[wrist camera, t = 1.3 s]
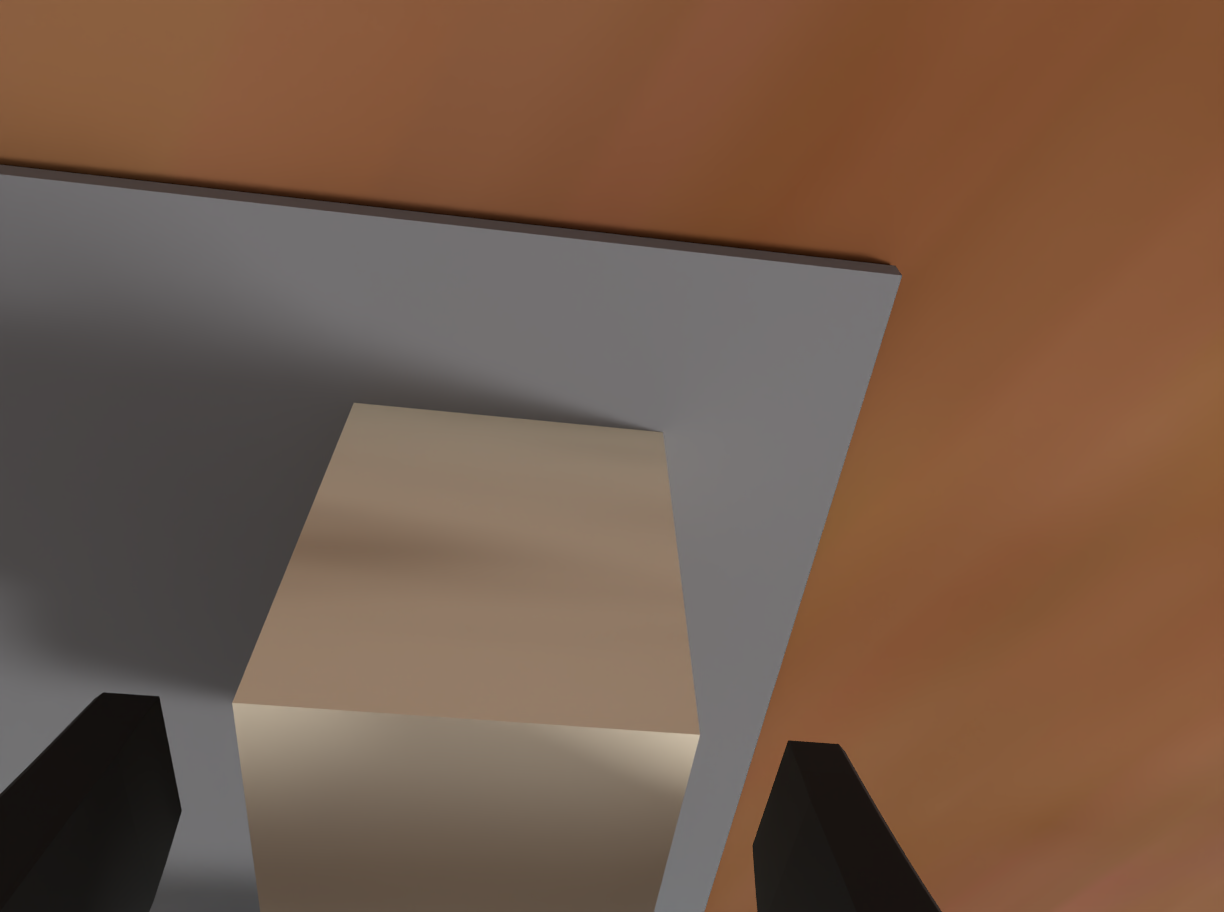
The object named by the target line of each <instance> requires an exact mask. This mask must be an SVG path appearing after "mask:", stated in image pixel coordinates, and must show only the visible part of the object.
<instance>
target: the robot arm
mask: <svg viewBox="0 0 1224 912" xmlns="http://www.w3.org/2000/svg"><path fill="white" fill-rule="evenodd" d="M181 812H182V809H181V804H180V799H179V793H178V788H177V783H176V778H175V773H174V768H173V763H172V758H171V753H170V748H169V743H168V738H167V733H166V727H165V722H164V717H163V712H162V707H161V702H160V697H159V696H149V695H135V694H121V693H106V692H103V693H102V694H100V695H99V696H97V697H96V698H95V699H94V700H93V701H92V702H91V703H90V704H89V705H88V706H87V707H86V708H85V709H84V710H83V711H82V712H81V713H80V714H79V715H78V716H77V717H76V718H75V719H74V720H73V721H72V722H71V723H70V724H69V725H68V726H67V727H66V728H65V729H64V730H63V731H62V732H61V733H60V734H59V735H58V736H57V737H56V738H55V739H54V740H53V741H52V742H51V744H50V745H49V746H48V747H47V748H46V749H45V750H44V751H43V752H42V753H41V754H40V755H39V756H38V757H37V758H36V759H35V760H34V761H33V762H32V763H31V764H30V765H29V766H28V767H27V768H26V769H25V770H24V771H23V772H22V773H21V774H20V775H19V776H18V777H17V778H16V779H15V780H14V781H13V782H12V783H11V784H10V785H9V786H8V787H7V788H6V789H5V790H4V791H3V792H2V793H1V794H0V912H149V911H150V909H151V906H152V904H153V902H154V898H155V895H156V892H157V889H158V886H159V883H160V880H161V877H162V874H163V871H164V868H165V865H166V862H167V858H168V855H169V852H170V849H171V845H172V842H173V839H174V835H175V832H176V829H177V825H178V822H179V819H180V816H181ZM753 859H754V873H755V887H756V899H757V910H758V912H942V911H941V910H940V908H939V907H938V905H937V904H936V902H935V901H934V899H933V898H932V896H931V895H930V893H929V892H928V890H927V888H926V887H925V885H924V884H923V882H922V881H921V879H920V878H919V876H918V874H917V873H916V871H915V870H914V868H913V866H912V865H911V863H910V862H909V860H908V858H907V857H906V855H905V853H904V852H903V850H902V849H901V847H900V845H899V844H898V842H897V840H896V839H895V837H894V835H893V834H892V832H891V830H890V829H889V827H888V825H887V824H886V822H885V820H884V819H883V817H882V815H881V814H880V812H879V810H878V808H877V807H876V805H875V803H874V802H873V800H872V798H871V796H870V795H869V793H868V791H867V790H866V788H865V786H864V784H863V783H862V781H861V779H860V777H859V776H858V774H857V772H856V770H855V769H854V767H853V765H852V763H851V762H850V760H849V758H848V756H847V754H846V753H845V751H844V750H843V749H842V748H841V746H840V745H839V744H829V743H815V742H801V741H788V743H787V746H786V749H785V752H784V755H783V758H782V761H781V764H780V767H779V769H778V772H777V775H776V778H775V781H774V784H773V787H772V790H771V793H770V796H769V799H768V802H767V805H766V808H765V811H764V814H763V817H762V819H761V822H760V825H759V828H758V831H757V834H756V837H755V840H754V843H753Z"/></svg>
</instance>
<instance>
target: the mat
mask: <svg viewBox="0 0 1224 912" xmlns="http://www.w3.org/2000/svg"><path fill="white" fill-rule="evenodd" d="M901 277H902V275H901V273H900V272H899V271H898V269H897V268H896V266H892V265H883V264H874V263H866V262H857V261H848V260H839V259H830V258H821V257H813V256H804V255H795V254H786V253H777V252H768V251H760V250H751V249H742V248H733V247H724V246H715V245H707V244H698V243H689V242H680V241H671V240H662V239H654V238H645V237H636V236H627V235H618V234H609V233H600V232H592V231H583V230H574V229H565V228H556V227H547V226H539V225H530V224H521V223H512V222H503V221H494V220H486V219H477V218H468V217H459V216H450V215H441V214H433V213H424V212H415V211H406V210H397V209H388V208H380V207H371V206H362V205H353V204H344V203H335V202H327V201H318V200H309V199H300V198H291V197H282V196H274V195H265V194H256V193H247V192H238V191H229V190H220V189H212V188H203V187H194V186H185V185H176V184H167V183H159V182H150V181H141V180H132V179H123V178H114V177H106V176H97V175H88V174H79V173H70V172H61V171H53V170H44V169H35V168H26V167H17V166H8V165H0V794H1V793H2V792H3V791H4V790H5V789H6V788H7V787H8V786H9V785H10V784H11V783H12V782H13V781H14V780H15V779H16V778H17V777H18V776H19V775H20V774H21V773H22V772H23V771H24V770H25V769H26V768H27V767H28V766H29V765H30V764H31V763H32V762H33V761H34V760H35V759H36V758H37V757H38V756H39V755H40V754H41V753H42V752H43V751H44V750H45V749H46V748H47V747H48V746H49V745H50V744H51V742H52V741H53V740H54V739H55V738H56V737H57V736H58V735H59V734H60V733H61V732H62V731H63V730H64V729H65V728H66V727H67V726H68V725H69V724H70V723H71V722H72V721H73V720H74V719H75V718H76V717H77V716H78V715H79V714H80V713H81V712H82V711H83V710H84V709H85V708H86V707H87V706H88V705H89V704H90V703H91V702H92V701H93V700H94V699H95V698H96V697H97V696H99V695H100V694H102V693H103V692H106V693H121V694H135V695H149V696H159V697H160V702H161V707H162V712H163V717H164V722H165V727H166V733H167V738H168V743H169V748H170V753H171V758H172V763H173V768H174V773H175V778H176V783H177V788H178V793H179V799H180V804H181V809H182V812H181V816H180V819H179V822H178V825H177V829H176V832H175V835H174V839H173V842H172V845H171V849H170V852H169V855H168V858H167V862H166V865H165V868H164V871H163V874H162V877H161V880H160V883H159V886H158V889H157V892H156V895H155V898H154V902H153V904H152V906H151V909H150V911H149V912H260V907H259V899H258V892H257V884H256V877H255V869H254V862H253V854H252V847H251V840H250V832H249V825H248V817H247V810H246V802H245V795H244V787H243V780H242V773H241V765H240V758H239V750H238V743H237V735H236V728H235V721H234V713H233V706H232V702H233V699H234V697H235V695H236V692H237V690H238V687H239V685H240V682H241V680H242V677H243V675H244V672H245V670H246V667H247V665H248V662H249V660H250V658H251V655H252V653H253V650H254V648H255V645H256V643H257V640H258V638H259V635H260V633H261V630H262V628H263V625H264V623H265V621H266V618H267V616H268V613H269V611H270V608H271V606H272V603H273V601H274V598H275V596H276V593H277V591H278V588H279V586H280V584H281V581H282V579H283V576H284V574H285V571H286V569H287V566H288V564H289V561H290V559H291V556H292V554H293V551H294V549H295V547H296V544H297V542H298V539H299V537H300V534H301V532H302V529H303V527H304V524H305V522H306V519H307V517H308V514H309V512H310V509H311V507H312V505H313V502H314V500H315V497H316V495H317V492H318V490H319V487H320V485H321V482H322V480H323V477H324V475H325V472H326V470H327V468H328V465H329V463H330V460H331V458H332V455H333V453H334V450H335V448H336V445H337V443H338V440H339V438H340V435H341V433H342V431H343V428H344V426H345V423H346V421H347V418H348V416H349V413H350V411H351V408H352V406H353V403H362V404H372V405H383V406H393V407H404V408H414V409H425V410H435V411H446V412H456V413H467V414H477V415H487V416H498V417H508V418H519V419H529V420H540V421H550V422H561V423H571V424H581V425H592V426H602V427H613V428H623V429H634V430H644V431H655V432H663V437H664V445H665V453H666V461H667V469H668V477H669V486H670V494H671V502H672V510H673V518H674V526H675V535H676V543H677V551H678V559H679V567H680V575H681V584H682V592H683V600H684V608H685V616H686V624H687V632H688V641H689V649H690V657H691V665H692V673H693V681H694V690H695V698H696V706H697V714H698V722H699V730H700V737H699V741H698V745H697V749H696V752H695V756H694V760H693V764H692V768H691V772H690V775H689V779H688V783H687V787H686V791H685V795H684V798H683V802H682V806H681V810H680V814H679V818H678V821H677V825H676V829H675V833H674V837H673V841H672V845H671V848H670V852H669V856H668V860H667V864H666V868H665V871H664V875H663V879H662V883H661V887H660V891H659V894H658V898H657V902H656V906H655V910H654V912H704V911H705V908H706V905H707V901H708V898H709V895H710V892H711V888H712V885H713V882H714V879H715V876H716V872H717V869H718V866H719V863H720V859H721V856H722V853H723V850H724V847H725V843H726V840H727V837H728V834H729V831H730V827H731V824H732V821H733V818H734V814H735V811H736V808H737V805H738V802H739V798H740V795H741V792H742V789H743V785H744V782H745V779H746V776H747V773H748V769H749V766H750V763H751V760H752V757H753V753H754V750H755V747H756V744H757V740H758V737H759V734H760V731H761V728H762V724H763V721H764V718H765V715H766V711H767V708H768V705H769V702H770V699H771V695H772V692H773V689H774V686H775V683H776V679H777V676H778V673H779V670H780V666H781V663H782V660H783V657H784V654H785V650H786V647H787V644H788V641H789V637H790V634H791V631H792V628H793V625H794V621H795V618H796V615H797V612H798V609H799V605H800V602H801V599H802V596H803V592H804V589H805V586H806V583H807V580H808V576H809V573H810V570H811V567H812V563H813V560H814V557H815V554H816V551H817V547H818V544H819V541H820V538H821V535H822V531H823V528H824V525H825V522H826V518H827V515H828V512H829V509H830V506H831V502H832V499H833V496H834V493H835V489H836V486H837V483H838V480H839V477H840V473H841V470H842V467H843V464H844V461H845V457H846V454H847V451H848V448H849V444H850V441H851V438H852V435H853V432H854V428H855V425H856V422H857V419H858V415H859V412H860V409H861V406H862V403H863V399H864V396H865V393H866V390H867V387H868V383H869V380H870V377H871V374H872V370H873V367H874V364H875V361H876V358H877V354H878V351H879V348H880V345H881V341H882V338H883V335H884V332H885V329H886V325H887V322H888V319H889V316H890V313H891V309H892V306H893V303H894V300H895V296H896V293H897V290H898V287H899V284H900V280H901Z"/></svg>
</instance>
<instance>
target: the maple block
mask: <svg viewBox="0 0 1224 912" xmlns="http://www.w3.org/2000/svg"><path fill="white" fill-rule="evenodd" d="M232 706H233V713H234V721H235V728H236V735H237V743H238V750H239V758H240V765H241V773H242V780H243V787H244V795H245V802H246V810H247V817H248V825H249V832H250V840H251V847H252V854H253V862H254V869H255V877H256V884H257V892H258V899H259V907H260V912H654V910H655V906H656V902H657V898H658V894H659V891H660V887H661V883H662V879H663V875H664V871H665V868H666V864H667V860H668V856H669V852H670V848H671V845H672V841H673V837H674V833H675V829H676V825H677V821H678V818H679V814H680V810H681V806H682V802H683V798H684V795H685V791H686V787H687V783H688V779H689V775H690V772H691V768H692V764H693V760H694V756H695V752H696V749H697V745H698V741H699V737H700V730H699V722H698V714H697V706H696V698H695V690H694V681H693V673H692V665H691V657H690V649H689V641H688V632H687V624H686V616H685V608H684V600H683V592H682V584H681V575H680V567H679V559H678V551H677V543H676V535H675V526H674V518H673V510H672V502H671V494H670V486H669V477H668V469H667V461H666V453H665V445H664V437H663V432H655V431H644V430H634V429H623V428H613V427H602V426H592V425H581V424H571V423H561V422H550V421H540V420H529V419H519V418H508V417H498V416H487V415H477V414H467V413H456V412H446V411H435V410H425V409H414V408H404V407H393V406H383V405H372V404H362V403H353V406H352V408H351V411H350V413H349V416H348V418H347V421H346V423H345V426H344V428H343V431H342V433H341V435H340V438H339V440H338V443H337V445H336V448H335V450H334V453H333V455H332V458H331V460H330V463H329V465H328V468H327V470H326V472H325V475H324V477H323V480H322V482H321V485H320V487H319V490H318V492H317V495H316V497H315V500H314V502H313V505H312V507H311V509H310V512H309V514H308V517H307V519H306V522H305V524H304V527H303V529H302V532H301V534H300V537H299V539H298V542H297V544H296V547H295V549H294V551H293V554H292V556H291V559H290V561H289V564H288V566H287V569H286V571H285V574H284V576H283V579H282V581H281V584H280V586H279V588H278V591H277V593H276V596H275V598H274V601H273V603H272V606H271V608H270V611H269V613H268V616H267V618H266V621H265V623H264V625H263V628H262V630H261V633H260V635H259V638H258V640H257V643H256V645H255V648H254V650H253V653H252V655H251V658H250V660H249V662H248V665H247V667H246V670H245V672H244V675H243V677H242V680H241V682H240V685H239V687H238V690H237V692H236V695H235V697H234V699H233V702H232Z"/></svg>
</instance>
